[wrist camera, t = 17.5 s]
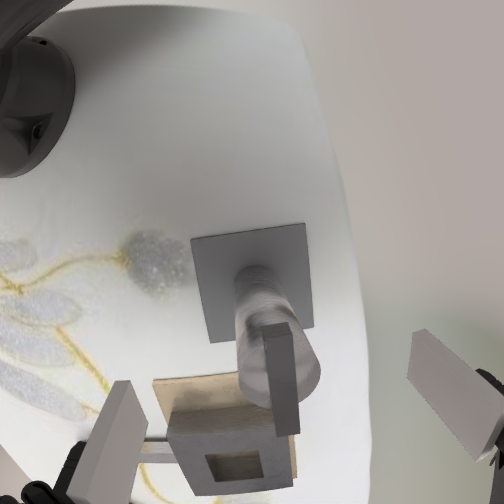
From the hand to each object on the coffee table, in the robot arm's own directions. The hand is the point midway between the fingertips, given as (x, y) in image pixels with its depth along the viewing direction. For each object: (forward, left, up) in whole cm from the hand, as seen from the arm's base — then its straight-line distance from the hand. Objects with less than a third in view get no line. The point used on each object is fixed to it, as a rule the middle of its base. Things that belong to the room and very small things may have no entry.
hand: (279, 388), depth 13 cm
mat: (0, 0, -16) cm, 16 cm away
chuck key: (0, 0, -15) cm, 15 cm away
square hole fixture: (+19, -8, -16) cm, 26 cm away
